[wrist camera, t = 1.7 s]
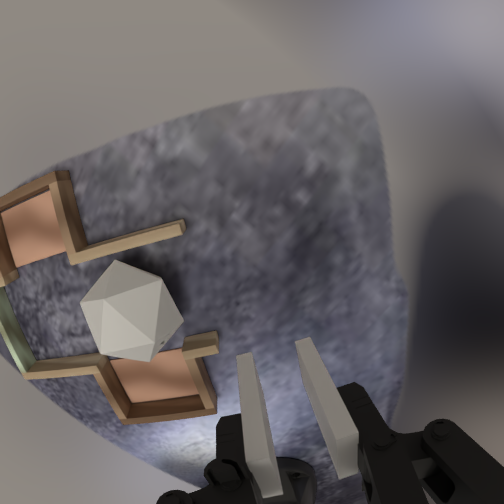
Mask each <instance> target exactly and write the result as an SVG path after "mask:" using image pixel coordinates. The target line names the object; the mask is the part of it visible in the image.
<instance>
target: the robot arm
mask: <svg viewBox="0 0 504 504" xmlns="http://www.w3.org/2000/svg"><path fill="white" fill-rule="evenodd" d="M295 344H296V349H297V354H298V360H299V365H300V370H301V375H302V380H303V384H304V387H305V390H306V392H307V395H308V398H309V400H310V403H311V406H312V408H313V411H314V414H315V416H316V419H317V422H318V424H319V427H320V430H321V432H322V435H323V438H324V440H325V443H326V446H327V448H328V451H329V454H330V456H331V459H332V462H333V464H334V467H335V470H336V472H337V475H338V478H339V479H342V478H345V477H348V476H351V475H354V474H357V473H358V467H359V469H360V472H361V474H362V491H365V494H366V498H367V502H368V504H429V503H428V501H427V498H426V496H425V493H424V491H423V488H424V489H425V491H426V492H427V493H428V494H429V495H430V496H431V498H432V499H433V500H434V501H435V503H436V504H504V467H503V466H502V465H501V464H500V463H499V462H497V461H496V460H495V459H494V458H493V457H492V456H491V455H489V453H487V452H486V451H485V450H484V449H483V448H482V447H481V446H480V445H478V444H477V443H476V442H475V441H474V440H473V439H472V438H471V437H470V436H468V435H467V434H466V433H465V432H464V431H463V430H462V429H461V428H460V427H458V426H457V425H456V424H455V423H454V422H452V421H450V420H447V419H437V420H434V421H432V422H430V423H429V424H428V425H427V426H426V427H425V429H424V431H420V432H415V433H408V434H402V433H397V432H395V431H393V430H391V429H390V428H389V427H388V426H387V425H386V423H385V421H384V420H383V418H382V416H381V415H380V413H379V412H378V410H377V408H376V407H375V405H374V404H373V402H372V400H371V399H370V397H369V396H368V394H367V392H366V391H365V389H364V387H362V386H360V385H359V384H357V383H355V382H353V383H350V384H347V385H344V386H341V387H338V388H336V387H335V385H334V383H333V381H332V379H331V377H330V375H329V373H328V371H327V369H326V367H325V365H324V363H323V361H322V359H321V357H320V355H319V353H318V352H317V350H316V348H315V346H314V344H313V342H312V340H311V338H310V337H308V338H305V339H301V340H297V341H295ZM236 358H237V371H238V383H239V394H240V406H241V413H240V414H235V415H229V416H224V417H221V418H220V420H219V422H218V424H217V426H216V444H217V445H216V459H214V460H212V461H211V462H210V463H208V465H207V466H206V468H205V469H204V477H205V478H206V480H207V481H208V483H209V485H208V486H206V487H205V488H202V489H200V490H197V491H195V492H192V493H189V494H188V493H186V492H185V491H181V490H171V491H168V492H166V493H164V494H163V495H162V496H160V497H159V499H158V501H157V503H156V504H315V498H316V490H317V480H316V476H315V473H314V470H313V468H312V467H311V466H310V465H308V464H307V463H305V462H303V461H300V460H296V459H290V458H276V455H275V450H274V445H273V440H272V435H271V430H270V425H269V420H268V414H267V409H266V404H265V399H264V393H263V390H262V386H261V383H260V379H259V376H258V373H257V369H256V366H255V362H254V359H253V355H252V352H250V353H245V354H241V355H237V356H236ZM422 487H423V488H422Z"/></svg>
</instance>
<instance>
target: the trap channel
mask: <svg viewBox="0 0 504 504" xmlns="http://www.w3.org/2000/svg"><path fill="white" fill-rule="evenodd" d="M48 189H50V191H47V192H45V193H43V194H40V195H38V196H36V197H34V198H32V199H29V200H27V201H25V202H23V203H21V204H19V205H17V206H14V207H12V208H10V209H8V210H6V211H4V212H2V213H1V211H3V210H5V209H7V208H9V207H11V206H13V205H15V204H17V203H19V202H22V201H24V200H26V199H28V198H30V197H32V196H34V195H37V194H39V193H41V192H43V191H46V190H48ZM185 230H186V225H185V222H184V219H181V220H177V221H173V222H169V223H166V224H162V225H158V226H155V227H151V228H147V229H144V230H140V231H137V232H133V233H130V234H126V235H123V236H119V237H116V238H113V239H109V240H106V241H103V242H99V243H96V244H93V245H89V246H88V243H87V240H86V237H85V233H84V230H83V226H82V223H81V219H80V215H79V212H78V208H77V204H76V200H75V196H74V192H73V187H72V183H71V179H70V174H69V171H53V172H51V173H49V174H47V175H44V176H42V177H40V178H38V179H36V180H34V181H32V182H30V183H27V184H25V185H23V186H21V187H19V188H17V189H15V190H13V191H12V192H10V193H8V194H6V195H4V196H2V197H0V332H1V334H2V336H3V338H4V340H5V342H6V345H7V347H8V349H9V351H10V352H11V354H12V356H13V358H14V360H15V362H16V364H17V366H18V368H19V369H20V371H21V373H22V375H23V377H24V378H25V379H42V378H56V377H67V376H78V375H87V374H93V375H94V376H95V378H96V380H97V382H98V384H99V386H100V387H101V389H102V391H103V393H104V394H105V396H106V398H107V400H108V401H109V403H110V405H111V406H112V408H113V409H114V411H115V413H116V414H117V416H118V418H119V419H120V421H121V422H122V424H123V425H127V424H141V423H152V422H162V421H171V420H179V419H187V418H194V417H201V416H207V415H213V414H217V396H216V393H215V391H214V388H213V386H212V383H211V381H210V378H209V375H208V373H207V370H206V368H205V365H204V362H203V360H202V357H203V356H208V355H213V354H218V353H219V337H218V334H217V331H211V332H207V333H202V334H197V335H193V336H188V337H185V338H184V343H183V347H182V348H178V349H172V350H167V351H162V352H158V353H157V354H156V355H155V356H154V358H153V359H152V360H151V361H150V362H145V361H138V360H132V359H125V358H120V359H113V360H110V361H109V359H108V357H107V355H103V354H100V352H99V353H92V354H85V355H78V356H71V357H63V358H55V359H47V360H38V361H36V359H35V357H34V355H33V353H32V351H31V349H30V347H29V345H28V343H27V341H26V339H25V337H24V335H23V332H22V330H21V328H20V326H19V324H18V321H17V319H16V317H15V314H14V312H13V310H12V307H11V305H10V302H9V300H8V297H7V295H6V292H5V289H4V286H6V285H7V284H9V283H11V282H12V281H14V280H16V279H17V278H19V274H18V271H17V267H20V266H22V265H25V264H28V263H31V262H34V261H37V260H40V259H43V258H46V257H49V256H52V255H55V254H58V253H61V252H64V251H67V254H68V258H69V261H70V264H71V265H74V264H78V263H81V262H85V261H88V260H92V259H95V258H99V257H102V256H106V255H109V254H113V253H116V252H120V251H123V250H127V249H131V248H134V247H138V246H142V245H145V244H149V243H153V242H157V241H160V240H164V239H168V238H172V237H176V236H179V235H182V234H183V233H184V232H185ZM6 235H7V236H6ZM8 242H9V243H8ZM10 249H11V250H10ZM110 362H111V363H110ZM111 364H112V365H111ZM112 366H113V367H112ZM113 368H114V369H113ZM114 370H115V371H114ZM115 372H116V373H115ZM116 374H117V375H116ZM117 376H118V377H117ZM118 378H119V379H118ZM119 380H120V381H119ZM120 382H121V383H120ZM121 384H122V385H123V386H122V385H121ZM123 387H124V388H123ZM124 389H125V390H124ZM125 391H126V392H125ZM126 393H127V394H126ZM195 394H197V395H195ZM127 395H128V396H129V397H128V396H127ZM189 395H191V396H189ZM183 396H184V397H183ZM176 397H178V398H176ZM129 398H130V399H129ZM169 398H171V399H169ZM162 399H164V400H162ZM130 400H131V401H130ZM154 400H156V401H154ZM145 401H148V402H145ZM131 402H132V403H131ZM136 402H139V403H136Z"/></svg>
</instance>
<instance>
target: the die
mask: <svg viewBox="0 0 504 504" xmlns="http://www.w3.org/2000/svg"><path fill="white" fill-rule="evenodd" d="M80 304H81V307H82V310H83V313H84V315H85V318H86V320H87V323H88V325H89V328H90V330H91V333H92V335H93V338H94V340H95V342H96V345H97V347H98V349H99V352H100V354H103V355H108V356H114V357H119V358H125V359H132V360H138V361H145V362H150V361H151V360H152V359H153V358H154V356H155V355H156V354H157V353H158V352H159V351H160V349H161V348H162V347H163V346H164V345H165V343H166V342H167V341H168V340H169V339H170V337H171V336H172V335H173V334H174V333H175V332H176V330H177V329H178V328H179V327H180V326H181V324H182V323H183V322H184V320H183V318H182V316H181V314H180V312H179V310H178V309H177V307H176V305H175V303H174V301H173V299H172V297H171V295H170V293H169V292H168V290H167V288H166V286H165V284H164V282H163V280H162V279H161V277H160V276H157V275H155V274H152V273H149V272H147V271H144V270H141V269H138V268H136V267H133V266H130V265H128V264H125V263H123V262H120V261H117V260H114V261H113V262H112V264H111V265H110V266H109V267H108V268H107V270H106V271H105V272H104V273H103V274H102V276H101V277H100V278H99V279H98V281H97V282H96V283H95V284H94V285H93V287H92V288H91V289H90V290H89V292H88V293H87V294H86V295H85V297H84V298H83V299H82V301H81V302H80Z"/></svg>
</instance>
